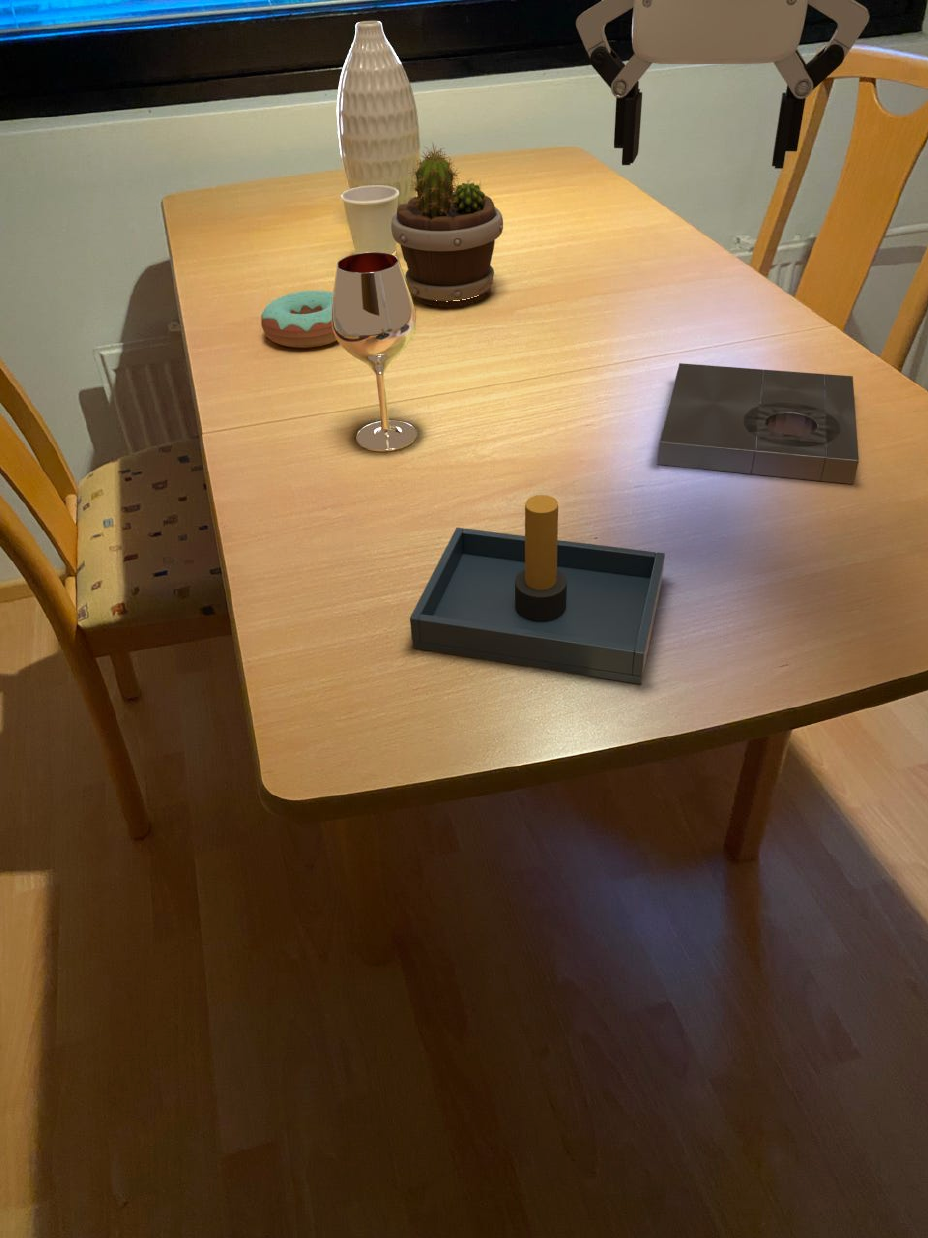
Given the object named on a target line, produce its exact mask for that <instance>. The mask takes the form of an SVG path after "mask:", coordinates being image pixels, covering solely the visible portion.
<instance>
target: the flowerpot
mask: <svg viewBox="0 0 928 1238" xmlns="http://www.w3.org/2000/svg"><path fill="white" fill-rule="evenodd" d="M424 148H425V149H427V150H426V153H425V151H422V153H423V154H424V155H421V154H420V155H419V156H420V157H422V158H423V159H420V161H419V162H420V163H419V162H418V163H419V164H420V167H417V168H418V170H417V171H414V172H415V174H416V177H415V178H417V179H416V181H417V183H415V182H413V181H412V182H413V183H415V184H414V185H416V186H415V187H413V186H414V185H413V186H412V187H413V188H411V189H413V190H412V191H413V192H414V191H415V192H414V193H415V196H414V195H413V194H412V195H413V196H414V197H413V198H412V199H410V200H409V202H408V203H407V204H401V205H399V206H398V207H397V213H396V214H394V216H393V217H392V222H391V230H392V235H393V238H394V240H395V241H396V244H398V245H400V250H401V253H402V256H403V260H404V262H405V264H406V267H407V271H406V272H405V274H404V276H405V279H406V282H407V285H408V288H409V291H410V293H411V294H413V295H414V297H415V299H416V300H417V301H419V302H420V303H422V304H425V305H429V306H434V307H438V306H439V307H440V308H457V307H464V306H468V305H471V304H472V303H477V302H479V301H481V300H483V299H484V298H485V296H486V294H487V292H488V290H489V289H490V288H491V287H492V285H493V284H494V276H495V271H494V267H493V266H492V265H491V263H492V260H493V254H494V249H495V242H496V240H497V239H498V238H499V237H500V236H501V235H502V233H503V230H504V217H503V215H502V213H501V211H500V210H499V209H498V208H497V207H496V206H495V203H494V201H493V200H492V198H491V197H490V196H487V195H486V194H485V192H484V191H482V186H481V185H482V182H481V180H479V184H475V182H476V180H477V179H476V178H475V179H474V180H473V182H471V180H472V177H470V178H469V179H467V180H466V178H465V181H466V182H461V184H459V179H460V178H459V177H458V174H460V173H461V171H460V172H457V170H458V167H457V169H456V168H454V167H453V166H454V164H453V162H455V160H453V161H451V160H452V158H451V156H449V158H448V156H447V155H448V154H446V151H445V150H444V152H443V151H442V150H443V149H444V147H442V148H441V147H439V149H438V150H437V146H435V145H434V143H433V141H432V149H431V150H430V149H429V148H428V147H427V146H424ZM432 150H433V151H432ZM445 156H446V157H445ZM417 161H418V160H417ZM419 164H417V165H418V166H419ZM415 166H416V165H415ZM455 169H456V170H455ZM413 170H415V169H413ZM414 172H413V173H414ZM409 174H410V173H409ZM415 174H413V175H412V176H411V177H413V176H414V175H415ZM411 179H412V178H411ZM456 181H457V184H456ZM410 186H411V185H410ZM477 295H479V296H477ZM474 296H477V297H474ZM471 297H473V298H471ZM467 298H470V299H467ZM462 299H466V300H462ZM436 300H437V301H436ZM453 300H460V301H453ZM446 301H448V302H446Z"/></svg>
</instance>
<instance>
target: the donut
mask: <svg viewBox="0 0 928 1238" xmlns="http://www.w3.org/2000/svg"><path fill="white" fill-rule="evenodd" d="M332 298H333V291H329V290H328V291H326V290H301V291H297V292H292V293H287V294H284V295H282V296H280V297H277V298H275V299H274V300H271V301H270V302H269V303H267V305H265V307H264V309H263V311H262V313H261V315H260V316H261V317H260V324H261V325H260V326H261V328H262V331H263V332H264V333H265V335H266V338H268V339H270V340H271V341H272V342H273V343H275V344H278V345H281V346H283V347H288V348H295V349H310V348H318V347H322V346H327V345H330V344H333V343H335V342H338V341H337V339H336V337H335V335H334V333H333V330H332V325H331V309H332Z"/></svg>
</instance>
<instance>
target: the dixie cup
mask: <svg viewBox="0 0 928 1238" xmlns="http://www.w3.org/2000/svg"><path fill="white" fill-rule="evenodd" d="M398 196H399V191H398V190H397V189H396V188H394V187H390V186H383V185H369V186H361V187H356V188H352V189H350V188H348V189H347V190H344V191H343V192H342V193H341V195H340V199H341V201H342V203H343V207H344V211H345V215H346V220H347V224H348V228H349V233H350V237H351V241H352V246H353V248H354V250H353V251H354V254H359V253H367V252H382V253H388V254H393V253H394V252H395V251H396V252H397V242H396V241H395V240H394V238H393V235H392V230H391V222H392V217H393V216H394V214H396V213H397V205H398Z"/></svg>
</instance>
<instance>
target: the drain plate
mask: <svg viewBox="0 0 928 1238" xmlns="http://www.w3.org/2000/svg"><path fill="white" fill-rule="evenodd" d="M675 374H676V375H675V379H674V382H673V386H672V390H671V394H670V398H669V402H668V405H667V410H666V414H665V418H664V422H663V426H662V429H661V433H660V438H659V441H658V450H657V459H656V460H657V462H656V465H659V466H669V467H680V468H688V469H689V468H690V469H699V470H707V471H708V470H709V471H718V472H727V473H739V474H747V475H758V476H769V477H777V478H778V477H779V478H788V479H796V480H797V479H798V480H808V481H817V482H818V481H819V482H827V483H836V484H846V485H853V484H854V482H855V478H856V473H857V470H858V467H859V463H860V457H859V443H858V429H857V417H856V415H857V414H856V401H855V400H856V399H855V390H854V389H855V388H854V387H855V386H854V376H853V375H842V374H830V373H829V374H828V373H816V372H815V373H813V372H804V371H803V372H802V371H791V370H790V371H789V370H788V371H787V370H774V369H773V370H772V369H763V368H762V369H761V368H750V367H748V368H747V367H735V366H722V365H721V366H720V365H709V364H708V365H707V364H697V363H695V364H693V363H683V362H679V363H678V365H677V370H676V373H675Z"/></svg>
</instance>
